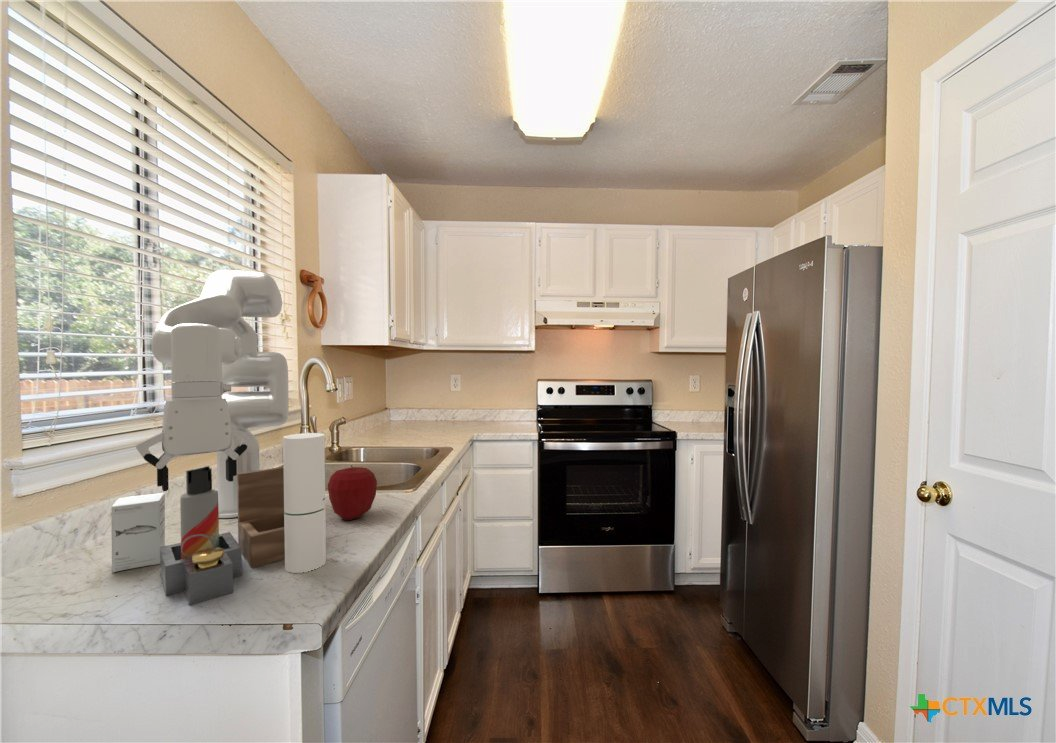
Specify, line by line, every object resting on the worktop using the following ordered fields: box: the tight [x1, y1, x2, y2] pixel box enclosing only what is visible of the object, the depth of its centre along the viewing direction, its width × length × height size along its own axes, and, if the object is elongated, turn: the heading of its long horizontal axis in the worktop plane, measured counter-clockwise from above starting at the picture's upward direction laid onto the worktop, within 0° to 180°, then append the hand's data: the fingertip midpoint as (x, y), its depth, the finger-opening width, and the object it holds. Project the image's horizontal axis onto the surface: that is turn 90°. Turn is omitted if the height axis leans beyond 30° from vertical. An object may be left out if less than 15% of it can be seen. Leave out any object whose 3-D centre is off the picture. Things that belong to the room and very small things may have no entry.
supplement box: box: [110, 492, 166, 574], centre depth 90 cm, size 7×7×13 cm
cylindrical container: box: [282, 432, 327, 574], centre depth 88 cm, size 7×7×25 cm
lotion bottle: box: [179, 465, 220, 559], centre depth 84 cm, size 6×6×20 cm
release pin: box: [192, 547, 224, 569], centre depth 77 cm, size 4×4×6 cm
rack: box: [237, 466, 285, 569], centre depth 95 cm, size 12×11×16 cm
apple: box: [327, 464, 378, 521], centre depth 115 cm, size 12×12×13 cm
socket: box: [159, 531, 243, 606], centre depth 82 cm, size 18×11×5 cm, turn 43°
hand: (198, 484), depth 83 cm, fingers open, 9 cm apart
